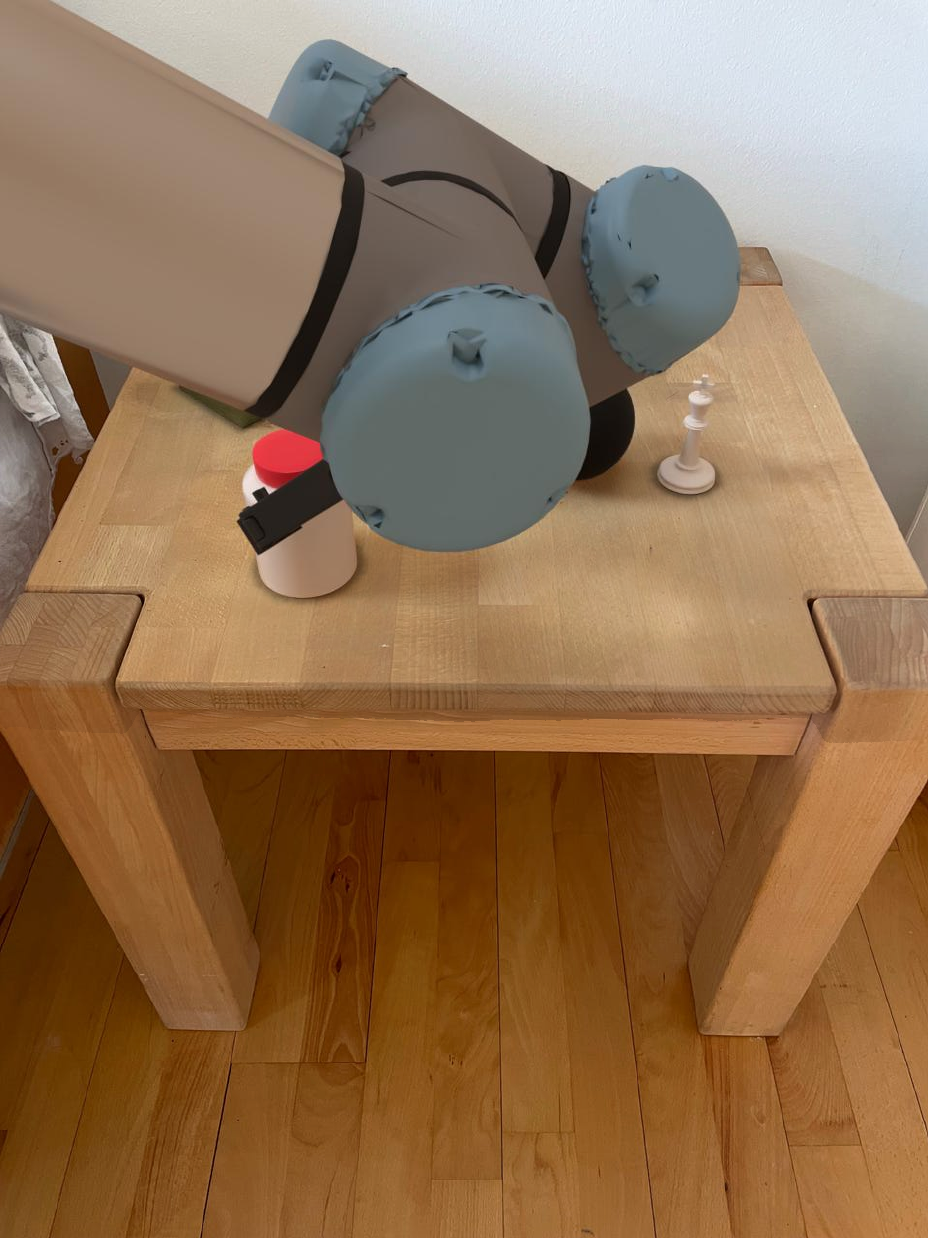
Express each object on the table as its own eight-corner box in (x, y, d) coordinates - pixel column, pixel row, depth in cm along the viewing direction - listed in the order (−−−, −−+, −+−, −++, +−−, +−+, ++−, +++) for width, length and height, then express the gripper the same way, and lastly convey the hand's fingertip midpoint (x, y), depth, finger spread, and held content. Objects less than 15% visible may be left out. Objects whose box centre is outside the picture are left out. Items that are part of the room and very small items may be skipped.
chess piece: (712, 498, 85) (735, 396, 78) (654, 490, 85) (671, 388, 78) (716, 464, 88) (737, 363, 81) (660, 457, 89) (676, 356, 82)
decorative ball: (543, 425, 92) (549, 326, 85) (644, 455, 89) (660, 355, 82) (493, 483, 86) (496, 381, 79) (601, 518, 83) (613, 415, 76)
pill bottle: (243, 589, 77) (218, 473, 69) (280, 526, 82) (260, 412, 74) (339, 605, 76) (324, 489, 68) (369, 541, 81) (359, 426, 73)
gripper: (345, 557, 47) (213, 626, 65) (662, 356, 59) (477, 460, 77) (258, 417, 46) (148, 527, 64) (599, 242, 58) (427, 375, 76)
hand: (328, 490), depth 71 cm, fingers open, 13 cm apart
